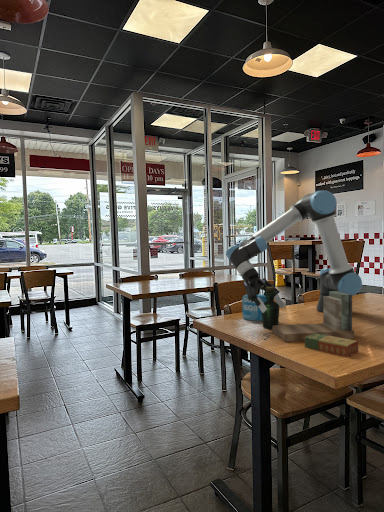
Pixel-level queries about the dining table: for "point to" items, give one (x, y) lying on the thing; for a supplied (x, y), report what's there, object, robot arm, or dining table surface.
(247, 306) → the data package
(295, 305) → the dining table surface
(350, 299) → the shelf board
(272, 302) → the potion bottle
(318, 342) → the carton
